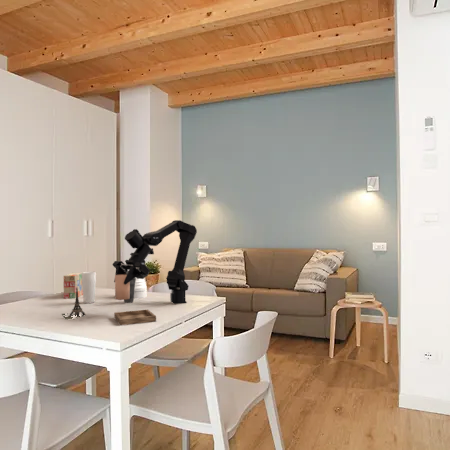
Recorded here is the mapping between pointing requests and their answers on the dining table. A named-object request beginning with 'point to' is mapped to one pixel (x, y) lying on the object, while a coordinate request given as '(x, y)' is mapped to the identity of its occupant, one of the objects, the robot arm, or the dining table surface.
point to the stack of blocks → (72, 285)
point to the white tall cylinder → (88, 286)
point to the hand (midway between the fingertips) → (119, 283)
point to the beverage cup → (131, 290)
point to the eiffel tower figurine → (75, 308)
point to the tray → (134, 317)
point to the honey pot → (140, 289)
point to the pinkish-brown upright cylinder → (121, 287)
